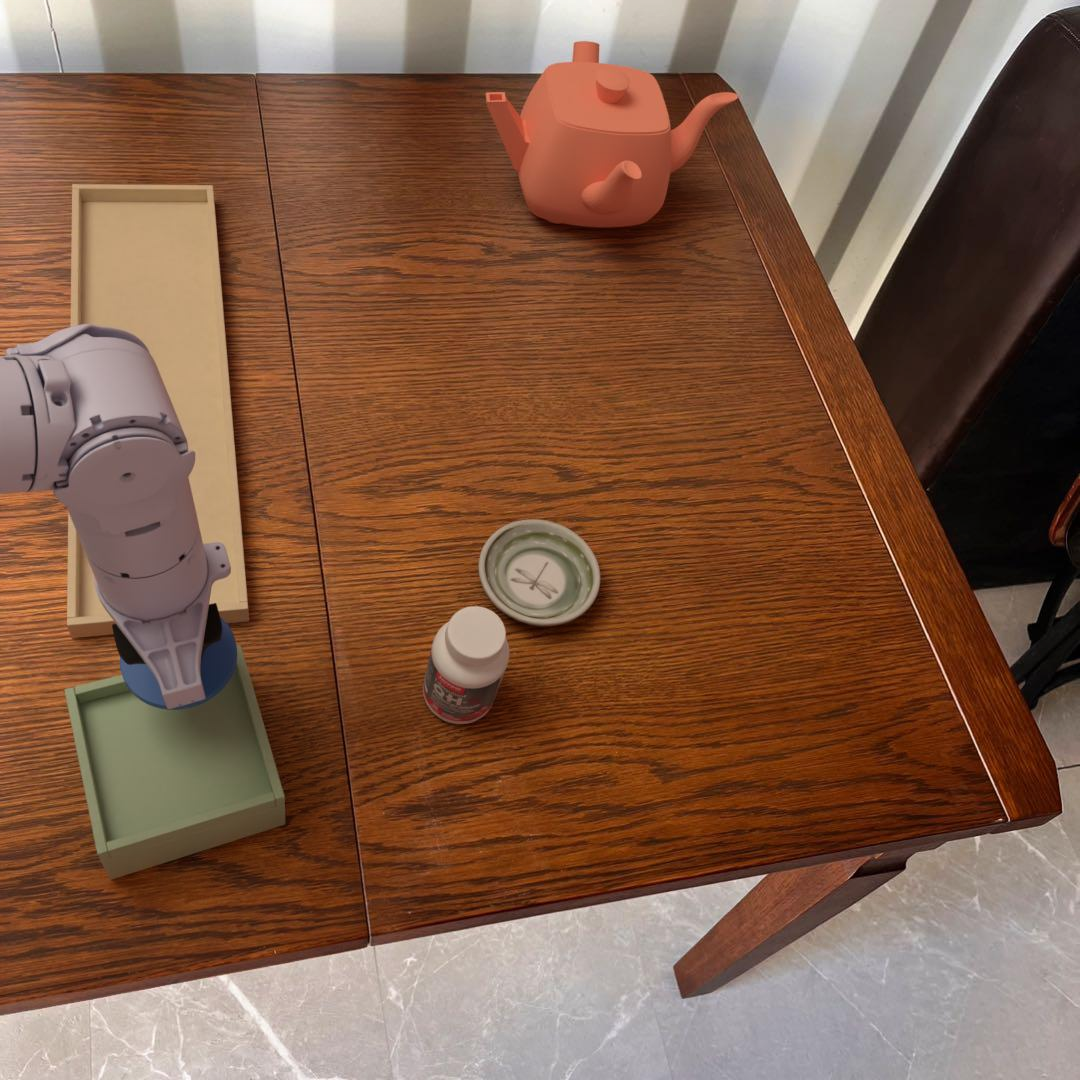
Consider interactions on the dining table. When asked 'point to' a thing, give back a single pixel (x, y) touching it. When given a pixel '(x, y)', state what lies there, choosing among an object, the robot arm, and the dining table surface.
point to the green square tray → (172, 772)
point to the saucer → (539, 572)
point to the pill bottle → (466, 665)
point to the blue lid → (212, 669)
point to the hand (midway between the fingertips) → (176, 647)
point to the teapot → (597, 141)
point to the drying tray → (162, 353)
